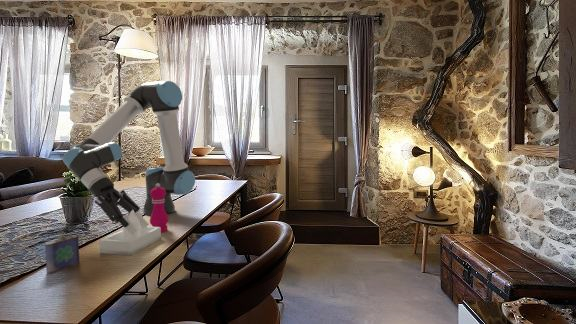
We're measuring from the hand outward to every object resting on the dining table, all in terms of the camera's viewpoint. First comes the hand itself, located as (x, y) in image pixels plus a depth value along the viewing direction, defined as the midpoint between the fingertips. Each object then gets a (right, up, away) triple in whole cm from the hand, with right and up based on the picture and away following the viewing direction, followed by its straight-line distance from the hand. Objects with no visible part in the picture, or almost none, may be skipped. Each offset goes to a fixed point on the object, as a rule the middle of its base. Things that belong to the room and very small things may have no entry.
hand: (140, 229), depth 122 cm
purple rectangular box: (-15, -8, -19) cm, 26 cm away
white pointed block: (-4, -5, +1) cm, 6 cm away
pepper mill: (0, -5, +19) cm, 19 cm away
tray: (-4, -6, +1) cm, 7 cm away
